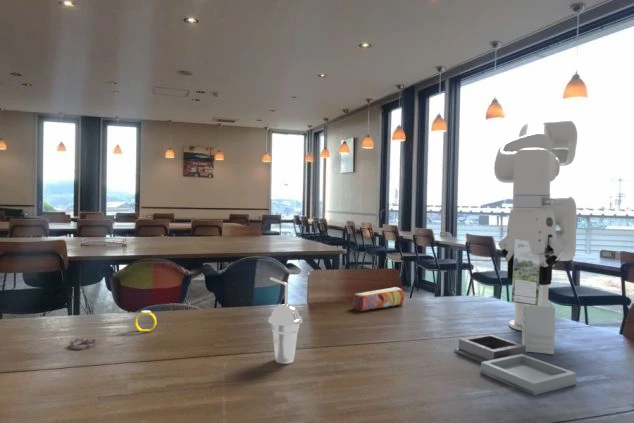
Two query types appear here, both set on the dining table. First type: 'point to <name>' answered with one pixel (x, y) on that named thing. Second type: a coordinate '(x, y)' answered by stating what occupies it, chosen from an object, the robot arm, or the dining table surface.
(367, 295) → the snack package
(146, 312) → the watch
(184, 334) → the dining table surface
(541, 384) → the tray
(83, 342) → the donut
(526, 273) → the syrup box
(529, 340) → the supplement box
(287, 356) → the cup with straw
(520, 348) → the socket
